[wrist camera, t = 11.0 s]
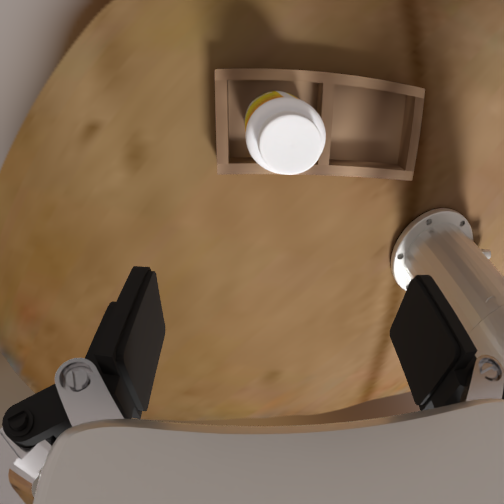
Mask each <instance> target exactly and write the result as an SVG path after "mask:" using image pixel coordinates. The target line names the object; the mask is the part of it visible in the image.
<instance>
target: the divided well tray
mask: <svg viewBox="0 0 504 504" xmlns="http://www.w3.org/2000/svg"><path fill="white" fill-rule="evenodd" d="M269 91H283V92H287V93H289V94H291V95H293V96H295V97H297V98H299V99H301V100H302V101H304V102H306V103H308V104H309V105H310V106H312V107H313V108H314V109H315V110H316V111H317V113H318V114H319V115H320V117H321V119H322V121H323V123H324V127H325V131H326V140H325V145H324V149H323V151H322V153H321V155H320V157H319V159H318V160H317V162H316V163H315V164H314V165H313V166H312V167H311V168H310V169H308V170H307V171H305V172H302V173H299V175H330V176H351V177H368V178H383V179H396V180H407V181H412V178H413V173H414V168H415V162H416V156H417V150H418V144H419V137H420V130H421V122H422V114H423V105H424V96H425V89H424V88H420V87H416V86H411V85H406V84H401V83H396V82H391V81H386V80H380V79H374V78H368V77H361V76H354V75H346V74H338V73H329V72H318V71H306V70H290V69H257V68H240V69H215V112H216V147H217V174H277V173H273V172H270V171H268V170H266V169H264V168H263V167H261V166H260V165H259V164H258V163H257V162H256V161H255V160H254V159H253V158H252V156H251V154H250V152H249V150H248V148H247V144H246V137H245V115H246V111H247V109H248V106H249V105H250V103H251V102H252V101H253V100H254V99H255V98H256V97H257V96H259V95H261V94H263V93H265V92H269Z"/></svg>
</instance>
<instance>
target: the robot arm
mask: <svg viewBox="0 0 504 504" xmlns="http://www.w3.org/2000/svg"><path fill="white" fill-rule="evenodd" d="M490 257H491V252H490V250H489V249H480V248H479V247H478V246H477V245H476V244H475V243H474V242H473V233H472V229H471V226H470V224H469V222H468V221H467V219H466V218H465V217H464V216H463V215H462V214H460V213H459V212H457V211H455V210H452V209H449V208H439V209H434V210H431V211H428V212H426V213H424V214H422V215H421V216H419V217H417V218H416V219H415V220H414V221H412V222H411V223H410V224H409V225H408V226H407V227H406V228H405V229H404V231H403V232H402V234H401V235H400V236H399V238H398V240H397V242H396V244H395V246H394V249H393V252H392V256H391V271H392V274H393V277H394V278H395V280H396V282H397V283H398V285H399V286H400V287H401V288H402V289H404V290H405V291H406V293H405V296H404V298H403V301H402V303H401V305H400V308H399V310H398V312H397V315H396V317H395V319H394V322H393V324H392V326H391V329H390V338H391V340H392V343H393V345H394V348H395V350H396V353H397V355H398V358H399V360H400V363H401V366H402V368H403V371H404V373H405V376H406V379H407V382H408V384H409V387H410V390H411V392H412V395H413V398H414V401H415V403H416V404H417V405H419V407H420V410H421V411H418V412H413V413H408V414H401V415H395V416H390V417H382V418H375V419H368V420H360V421H351V422H341V423H331V424H317V425H299V426H220V425H203V424H186V423H175V422H164V421H152V420H140V418H141V414H142V411H147V408H148V404H149V399H150V395H151V391H152V386H153V382H154V377H155V373H156V369H157V365H158V361H159V356H160V352H161V348H162V344H163V340H164V336H165V323H164V318H163V312H162V307H161V301H160V295H159V289H158V283H157V277H156V273H155V272H154V271H151V269H150V267H137V266H134V267H133V268H132V270H131V272H130V274H129V276H128V278H127V281H126V283H125V285H124V287H123V289H122V291H121V293H120V295H119V297H118V300H117V302H111V303H110V304H109V306H108V308H107V310H106V312H105V314H104V316H103V318H102V321H101V323H100V325H99V327H98V329H97V332H96V334H95V336H94V338H93V341H92V343H91V345H90V348H89V350H88V352H87V355H86V357H85V359H84V358H74V359H71V360H68V361H67V362H65V363H63V364H62V365H61V366H60V367H59V369H58V370H57V372H56V375H55V384H54V385H52V386H50V387H48V388H46V389H44V390H42V391H40V392H38V393H36V394H34V395H33V396H31V397H28V398H26V399H25V400H23V401H21V402H19V403H17V404H15V405H13V406H12V407H10V408H9V409H8V410H7V412H6V413H5V415H4V417H3V423H2V425H3V427H2V428H1V429H0V504H504V276H503V275H502V274H501V273H500V272H499V271H498V269H497V268H496V267H495V266H494V265H493V264H492V263H491V261H490V260H489V259H490ZM131 418H138V419H131ZM41 469H42V472H41V474H40V473H39V471H40V470H41ZM39 475H40V478H39V481H38V485H37V489H36V493H35V497H33V495H32V490H31V489H32V484H33V482H34V480H35V479H36V478H37V477H38V476H39Z"/></svg>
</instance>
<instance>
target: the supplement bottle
mask: <svg viewBox="0 0 504 504" xmlns="http://www.w3.org/2000/svg"><path fill="white" fill-rule="evenodd" d="M245 137H246V144H247V148H248V150H249V152H250V154H251V156H252V158H253V159H254V160H255V161H256V162H257V163H258V164H259V165H260V166H261V167H263V168H264V169H266V170H268V171H270V172H273V173H277V174H287V175H294V174H299V173H302V172H305V171H307V170H308V169H310V168H311V167H312V166H313V165H314V164H315V163H316V162H317V160H318V159H319V157H320V155H321V153H322V151H323V149H324V145H325V140H326V131H325V127H324V123H323V121H322V119H321V117H320V115H319V114H318V113H317V111H316V110H315V109H314V108H313V107H312V106H310V105H309V104H308V103H306V102H304V101H302V100H301V99H299V98H297V97H295V96H293V95H291V94H289V93H287V92H283V91H269V92H265V93H263V94H261V95H259V96H257V97H256V98H255V99H254V100H253V101H252V102H251V103H250V105H249V106H248V109H247V111H246V115H245Z"/></svg>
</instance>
